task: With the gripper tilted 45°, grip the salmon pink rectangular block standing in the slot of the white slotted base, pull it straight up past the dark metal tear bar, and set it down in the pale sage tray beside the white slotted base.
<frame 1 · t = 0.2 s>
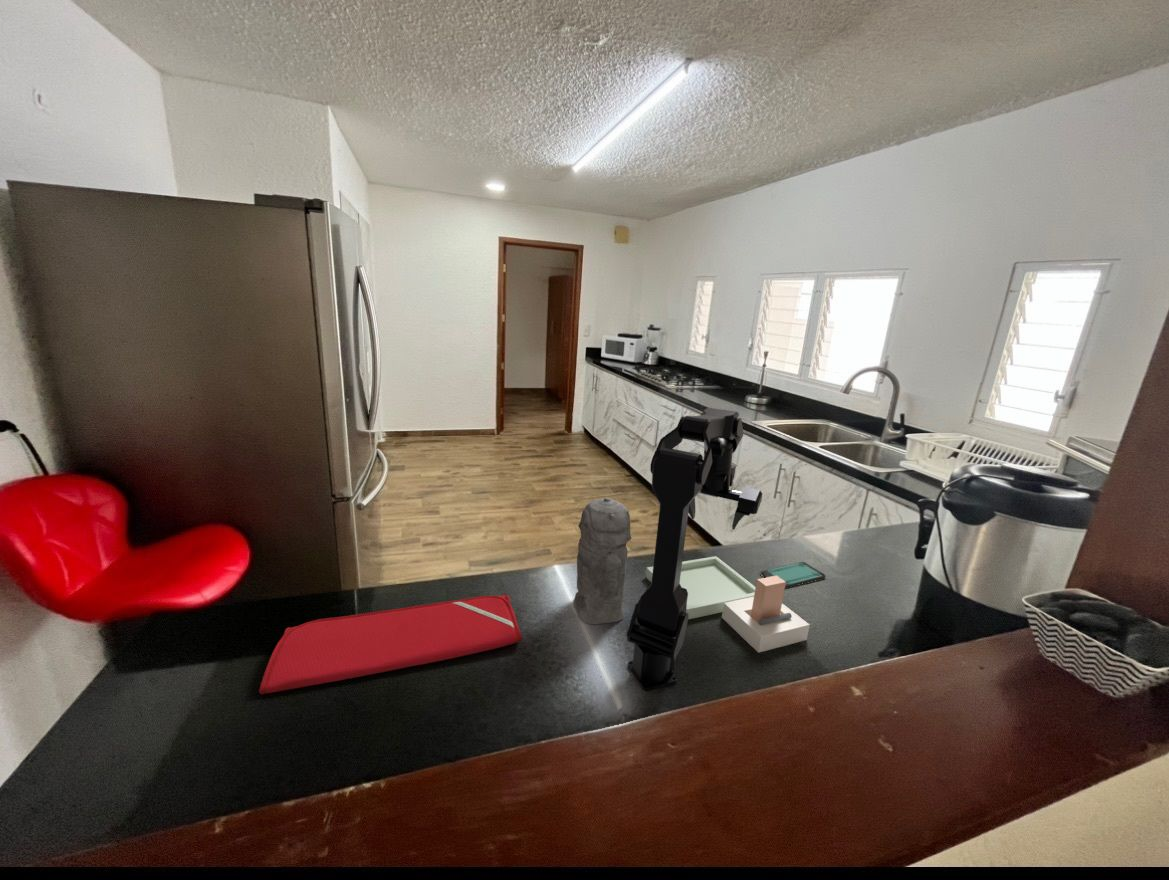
hand: (713, 523, 105), 16 cm above the worktop, tool pointing down, fingers open, 9 cm apart
white slotted base: (762, 628, 94), on the worktop
tray: (701, 589, 106), on the worktop
smartphone: (792, 578, 114), on the worktop
figurine: (597, 609, 97), on the worktop
dish drying mat: (404, 644, 85), on the worktop
salmon pink rectangular block: (762, 628, 94), resting in white slotted base
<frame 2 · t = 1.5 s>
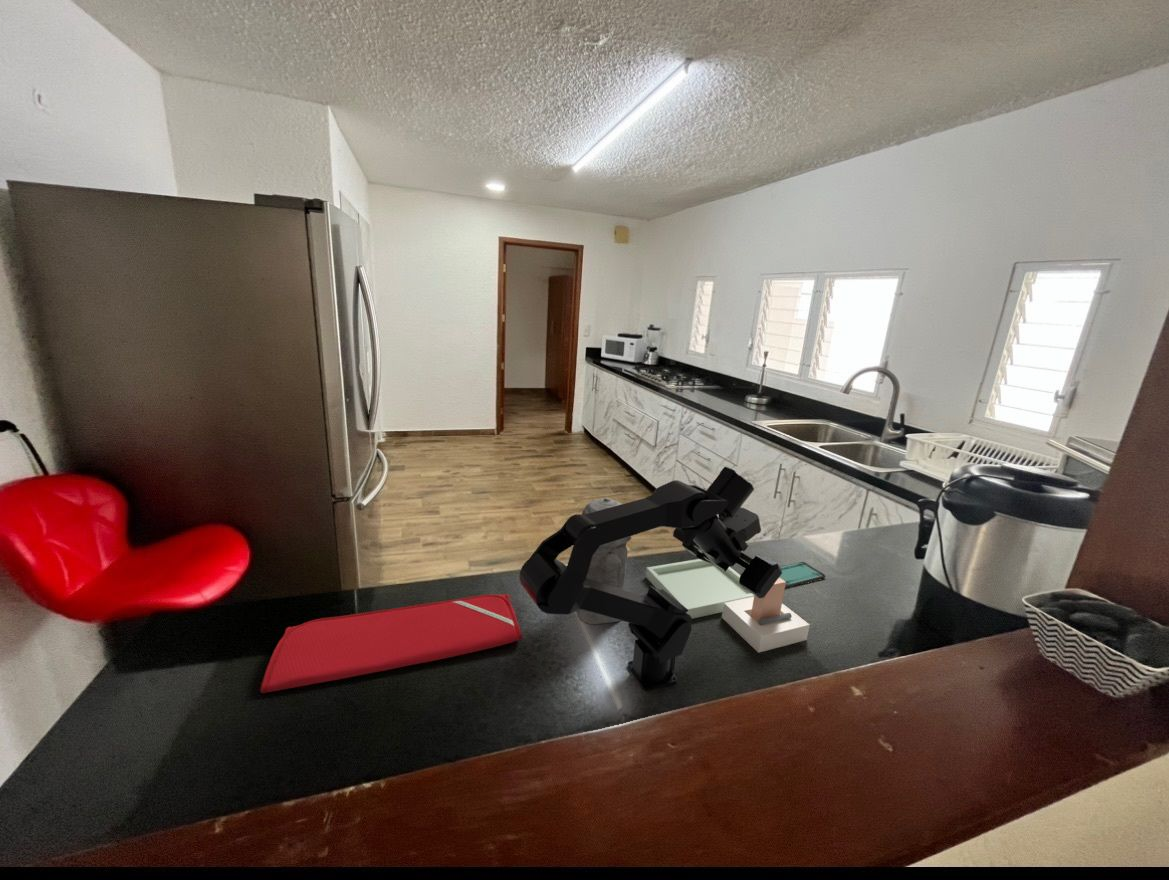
hand: (745, 578, 87), 13 cm above the worktop, tool tilted 45°, fingers open, 9 cm apart
nothing on the worktop moved.
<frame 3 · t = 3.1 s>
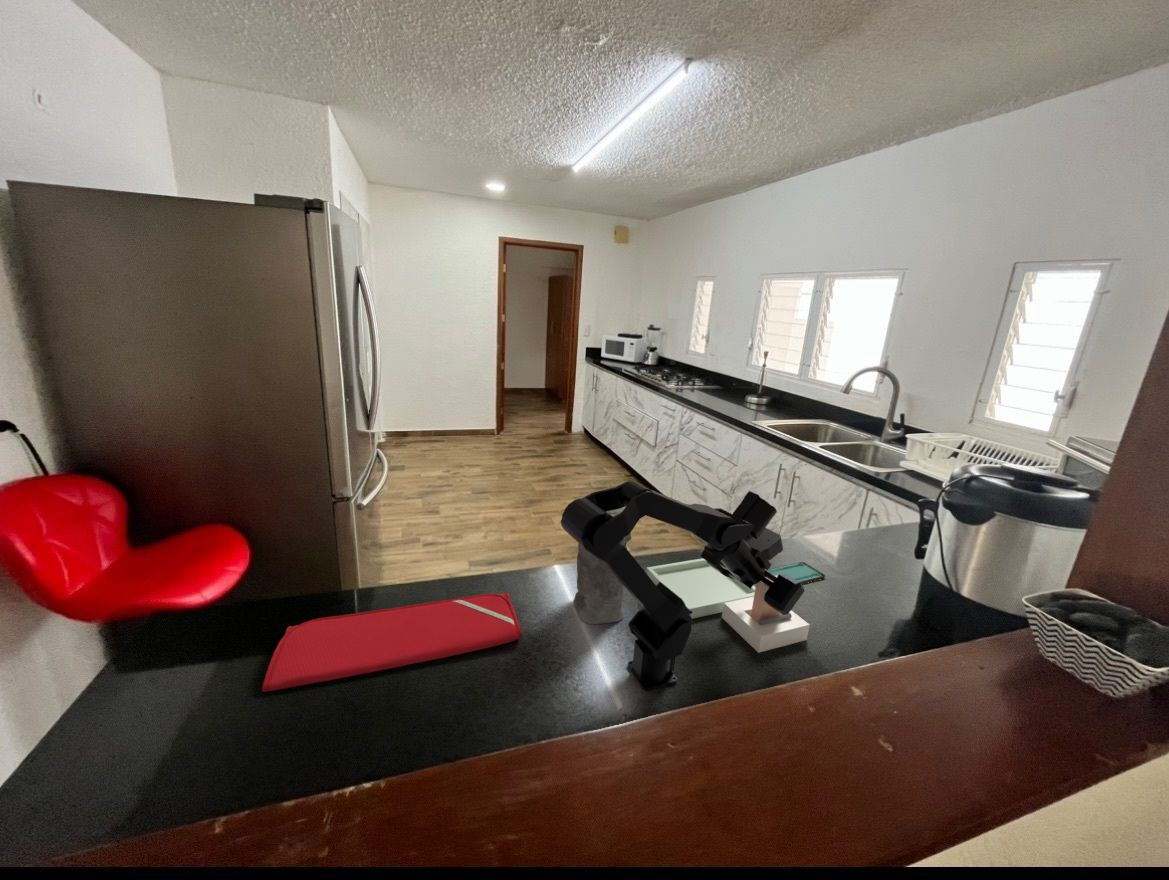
hand: (768, 593, 91), 8 cm above the worktop, tool tilted 45°, fingers open, 9 cm apart
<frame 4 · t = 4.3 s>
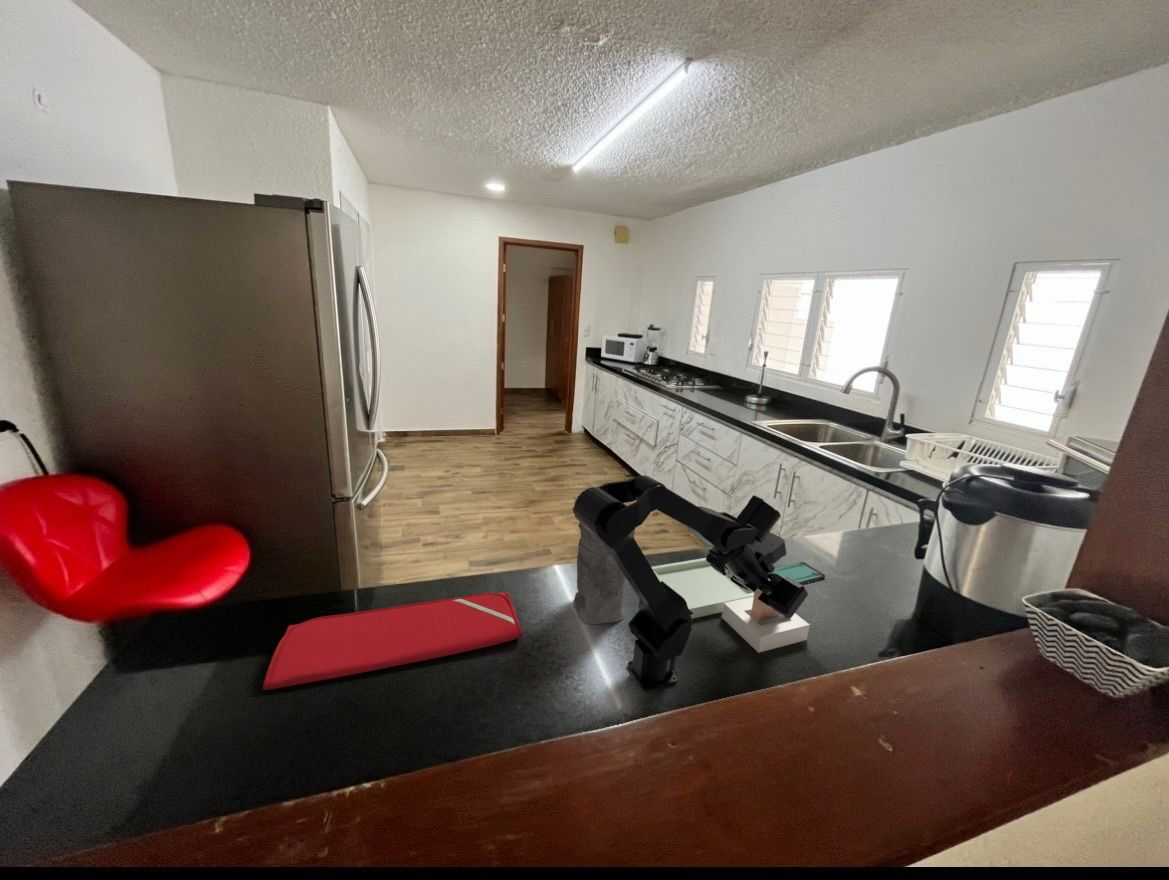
hand: (771, 596, 92), 7 cm above the worktop, tool tilted 45°, fingers closed on salmon pink rectangular block, 3 cm apart
salmon pink rectangular block: (762, 628, 94), resting in white slotted base, touching gripper
everything else where it was.
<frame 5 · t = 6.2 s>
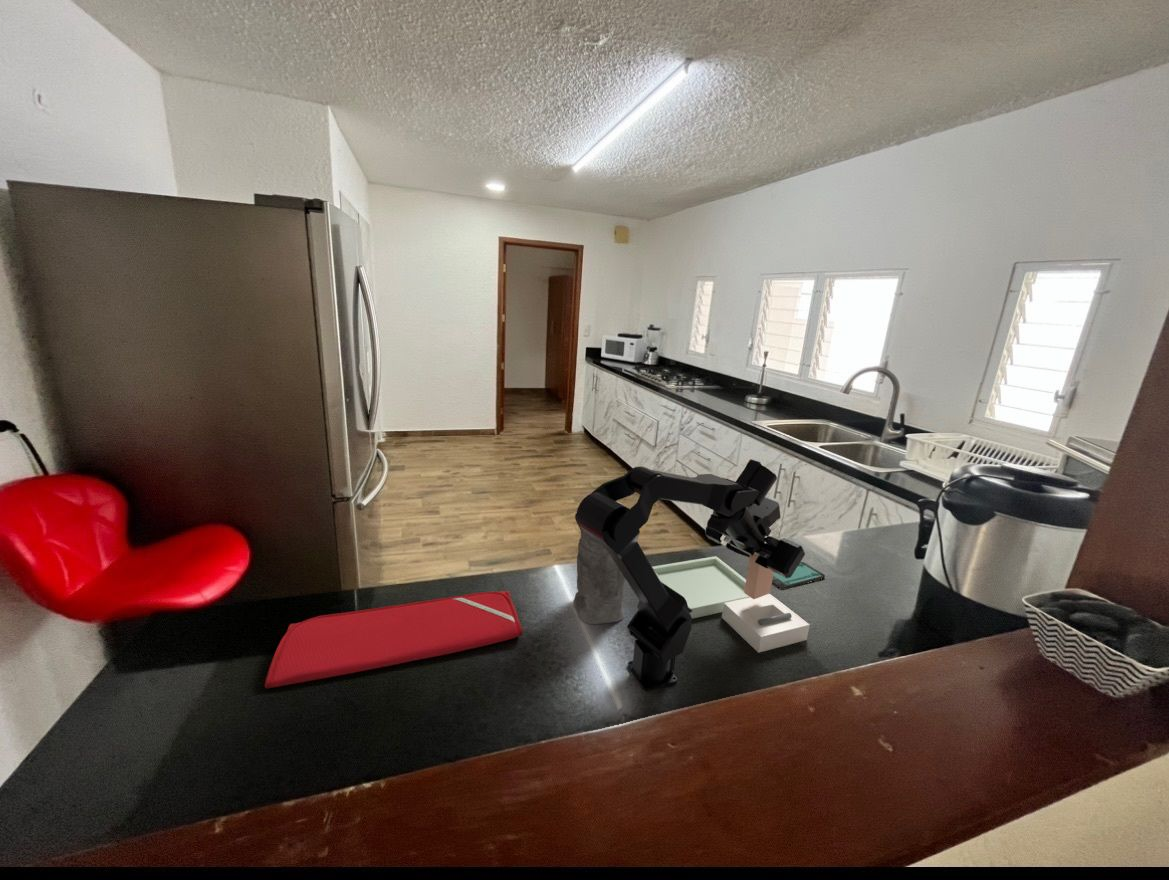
hand: (764, 561, 94), 13 cm above the worktop, tool tilted 45°, fingers closed on salmon pink rectangular block, 3 cm apart
salmon pink rectangular block: (757, 593, 95), point 6 cm above the worktop, touching gripper
when the fingers open (9 cm above the worktop, at t = 8.4 s): salmon pink rectangular block stays where it is, resting on tray.
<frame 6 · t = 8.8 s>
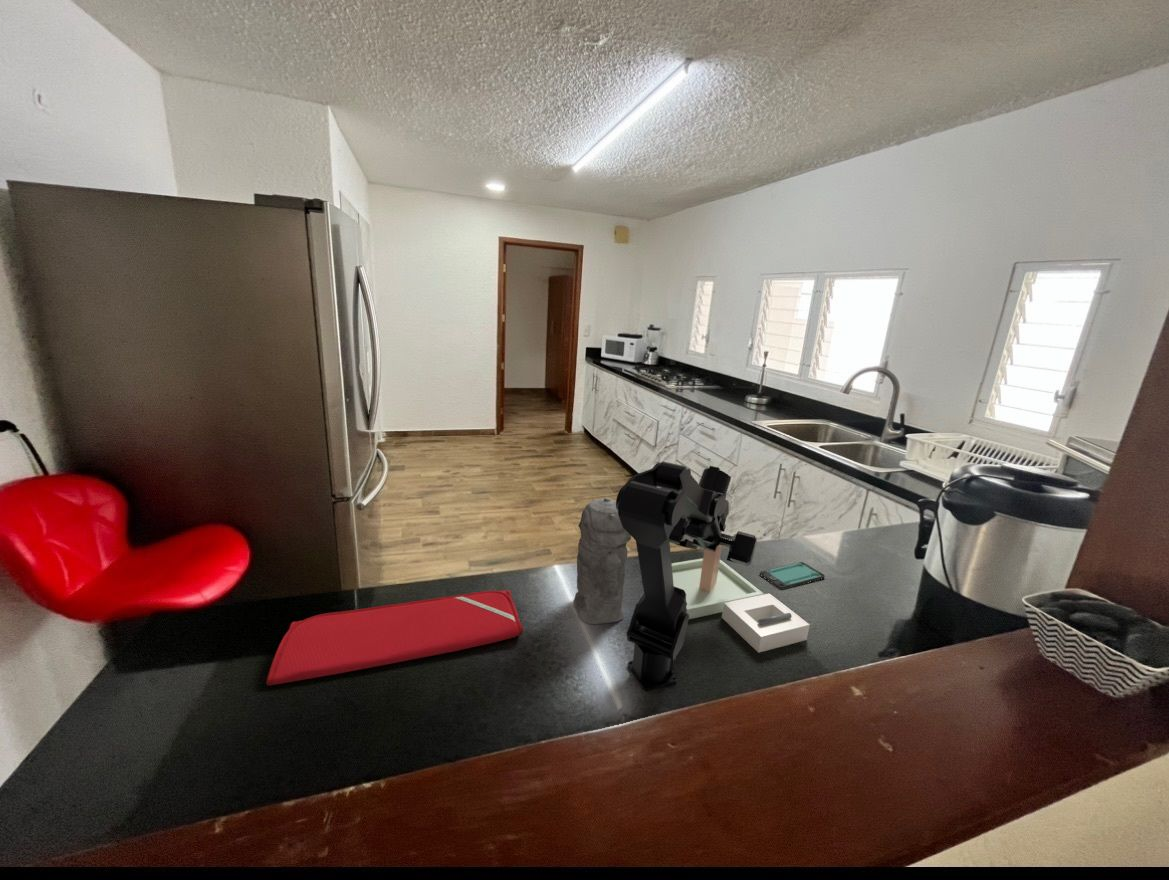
hand: (713, 552, 105), 9 cm above the worktop, tool tilted 45°, fingers open, 8 cm apart
salmon pink rectangular block: (707, 585, 106), point 1 cm above the worktop, touching tray
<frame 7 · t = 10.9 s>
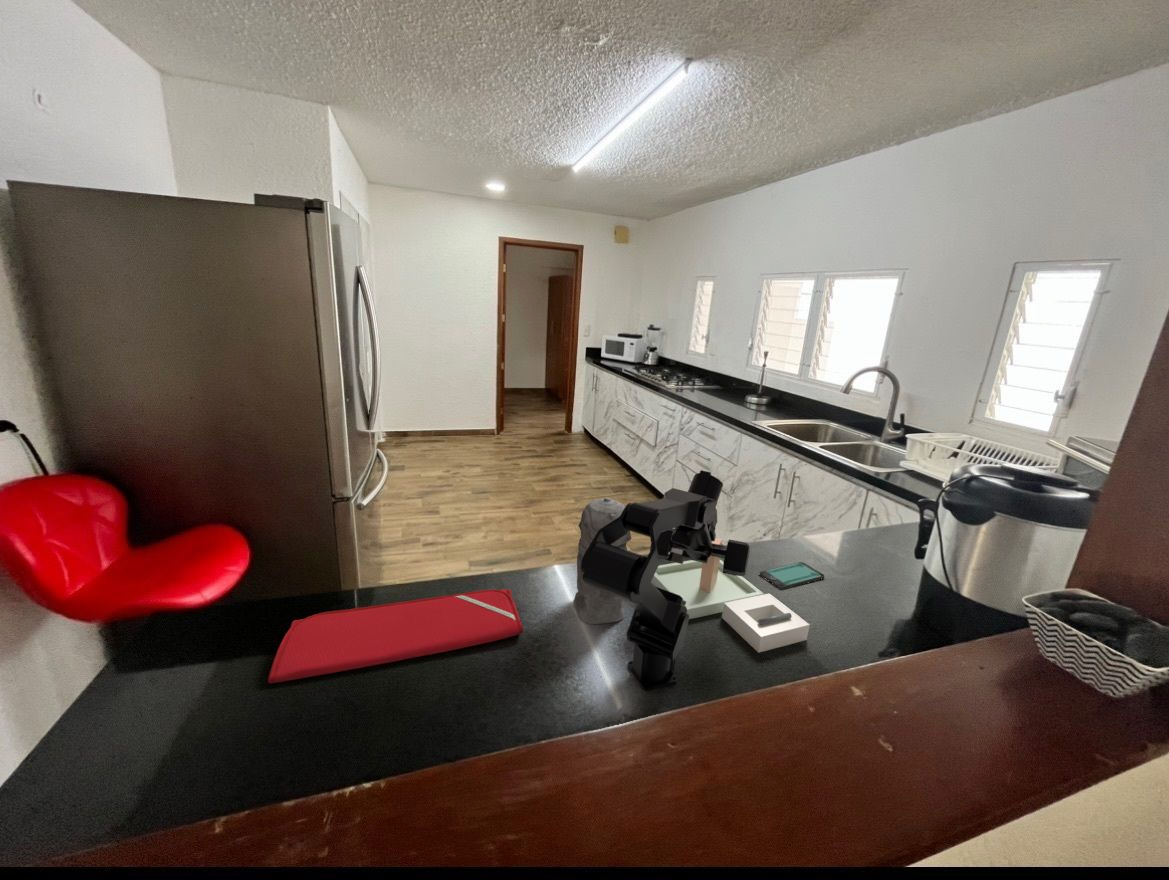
hand: (703, 566, 98), 9 cm above the worktop, tool tilted 40°, fingers open, 9 cm apart
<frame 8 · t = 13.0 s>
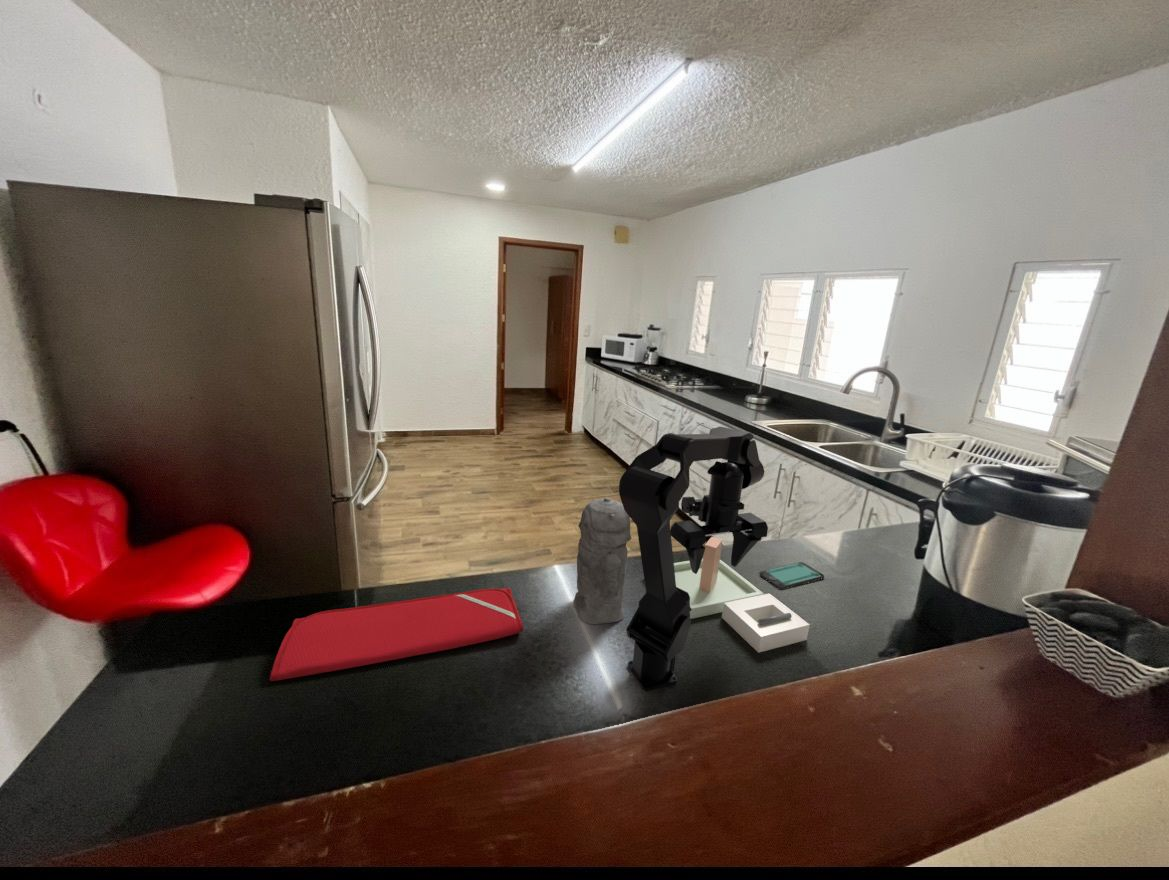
hand: (714, 569, 90), 13 cm above the worktop, tool pointing down, fingers open, 9 cm apart
at the end: salmon pink rectangular block inside the target area (1.4 cm from its centre), point 1.0 cm above the worktop; salmon pink rectangular block moved 15.5 cm from its start; the gripper is holding nothing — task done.
